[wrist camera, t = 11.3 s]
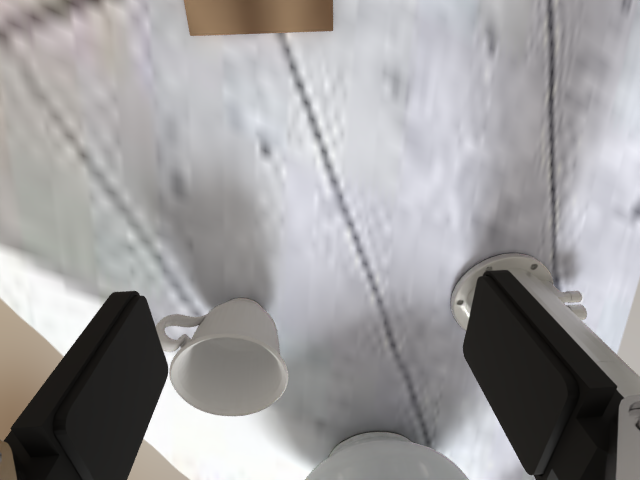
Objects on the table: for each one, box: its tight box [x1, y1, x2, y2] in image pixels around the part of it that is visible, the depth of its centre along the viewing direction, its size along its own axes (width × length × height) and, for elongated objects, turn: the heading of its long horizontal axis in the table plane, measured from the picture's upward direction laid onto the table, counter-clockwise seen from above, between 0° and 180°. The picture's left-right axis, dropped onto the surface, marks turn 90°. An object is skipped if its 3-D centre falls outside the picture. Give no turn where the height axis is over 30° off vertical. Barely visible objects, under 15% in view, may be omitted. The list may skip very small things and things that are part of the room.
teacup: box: [156, 298, 288, 416], centre depth 41 cm, size 12×15×10 cm
